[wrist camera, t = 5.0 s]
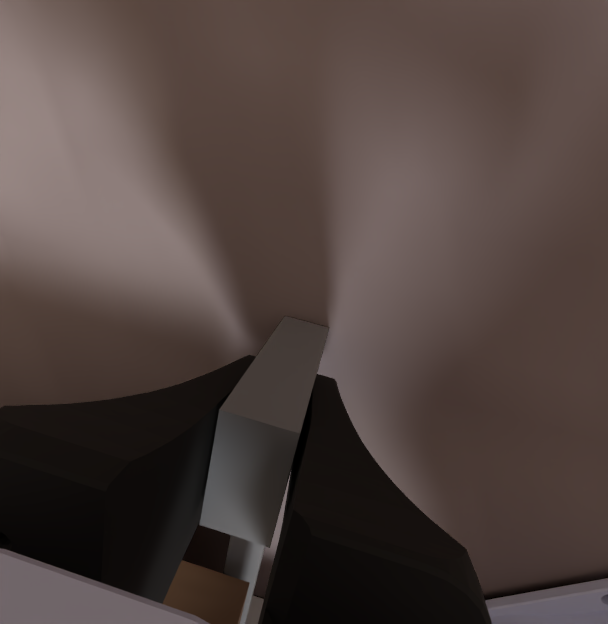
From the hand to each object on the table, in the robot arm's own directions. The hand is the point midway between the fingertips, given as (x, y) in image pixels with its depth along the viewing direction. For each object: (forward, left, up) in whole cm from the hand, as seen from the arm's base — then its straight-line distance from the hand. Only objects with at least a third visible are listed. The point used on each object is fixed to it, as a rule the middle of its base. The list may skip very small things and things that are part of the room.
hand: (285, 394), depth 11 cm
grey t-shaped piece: (+4, +4, -2) cm, 6 cm away
